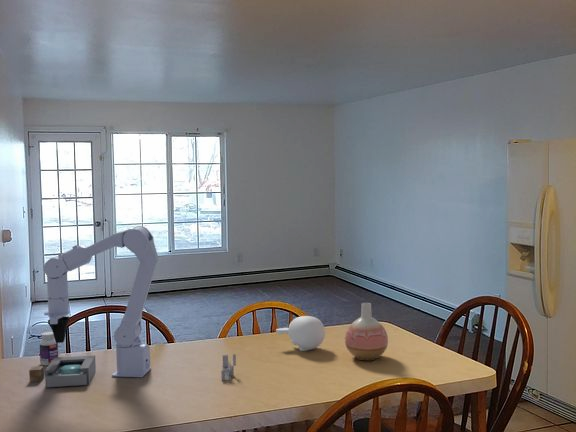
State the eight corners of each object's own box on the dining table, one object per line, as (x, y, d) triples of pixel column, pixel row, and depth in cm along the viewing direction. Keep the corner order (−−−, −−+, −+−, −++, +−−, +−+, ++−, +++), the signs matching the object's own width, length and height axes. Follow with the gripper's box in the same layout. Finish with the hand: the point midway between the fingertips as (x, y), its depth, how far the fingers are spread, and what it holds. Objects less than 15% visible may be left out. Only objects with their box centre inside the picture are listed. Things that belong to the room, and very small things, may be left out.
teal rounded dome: (76, 376, 176) (76, 370, 176) (57, 376, 176) (57, 370, 176) (84, 370, 181) (84, 364, 181) (65, 370, 182) (65, 364, 182)
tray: (93, 370, 185) (93, 361, 185) (86, 384, 173) (85, 374, 173) (56, 373, 183) (55, 363, 183) (46, 387, 172) (45, 376, 171)
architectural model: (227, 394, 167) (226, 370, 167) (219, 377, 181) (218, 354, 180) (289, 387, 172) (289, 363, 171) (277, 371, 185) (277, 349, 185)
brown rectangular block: (44, 377, 181) (43, 366, 180) (41, 381, 178) (40, 369, 177) (32, 378, 180) (32, 366, 180) (29, 382, 177) (29, 370, 177)
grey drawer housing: (95, 370, 186) (95, 355, 186) (89, 384, 174) (88, 368, 174) (55, 373, 184) (54, 357, 184) (45, 387, 173) (45, 370, 172)
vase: (339, 361, 192) (339, 306, 191) (351, 349, 205) (351, 297, 203) (382, 366, 187) (382, 310, 185) (392, 353, 200) (392, 300, 198)
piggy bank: (329, 355, 204) (296, 349, 215) (333, 319, 206) (301, 315, 217) (304, 352, 196) (271, 346, 206) (309, 315, 198) (277, 311, 209)
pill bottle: (52, 366, 191) (50, 335, 190) (36, 365, 192) (35, 335, 191) (62, 361, 196) (60, 331, 196) (46, 360, 197) (45, 330, 197)
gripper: (49, 292, 188) (51, 336, 189) (37, 303, 174) (39, 349, 175) (73, 291, 189) (75, 335, 190) (63, 302, 175) (65, 348, 176)
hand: (60, 342), depth 182 cm, fingers closed
